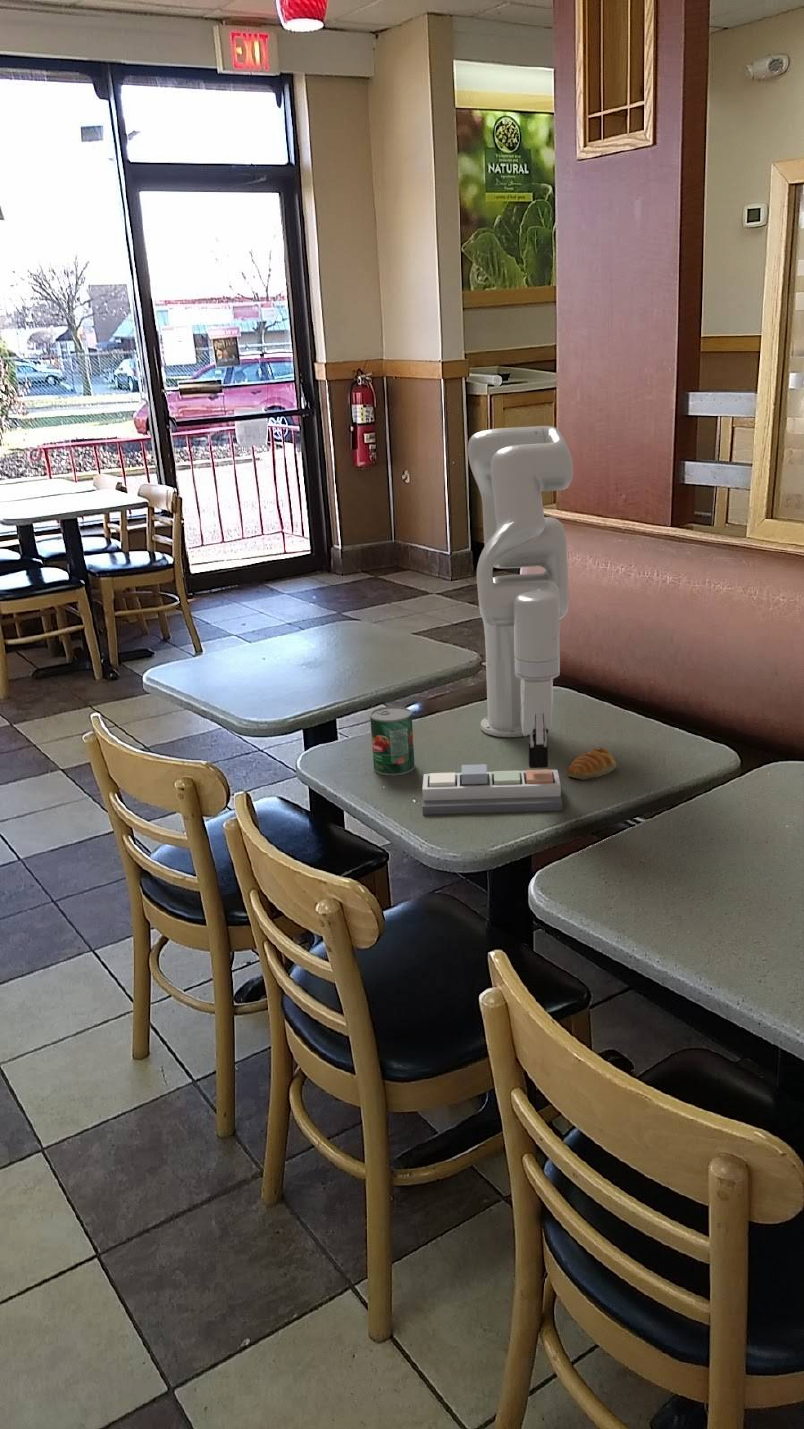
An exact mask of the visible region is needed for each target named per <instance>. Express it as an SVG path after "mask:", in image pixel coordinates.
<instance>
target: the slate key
mask: <svg viewBox="0 0 804 1429" xmlns="http://www.w3.org/2000/svg"><path fill="white" fill-rule="evenodd" d="M487 766H488V764H485V763H480V764H478V763H477V764H461V773H462V784H485V783H487V772H488V767H487Z"/></svg>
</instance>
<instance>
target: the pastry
mask: <svg viewBox="0 0 804 1429" xmlns="http://www.w3.org/2000/svg"><path fill="white" fill-rule="evenodd" d="M616 768H617V762H616V761H615V758H614V757H613V756H612V753H611V752H610V751H609V750H608V749H606V748H603V747H599V748H595V747H594V748H592V750H589V751H586V752H583V753H580V754H578V756H577V757H576V758H575V759H574V760H573V761H572V762H571V763H570V764H569V766H568V769H567V771H568V777H571V778H574V779H579V780H585V779H586V780H589V779H594V778H599V777H602V776H603V775H606V774H609V773H611V772H613V771H614V770H615V769H616ZM588 778H589V779H588Z"/></svg>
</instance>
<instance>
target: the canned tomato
mask: <svg viewBox="0 0 804 1429" xmlns="http://www.w3.org/2000/svg"><path fill="white" fill-rule="evenodd" d="M412 714H413V713H412V710H411V709H409V708H407V707H403V706H384V707H379V708H376V709H374V710H372V711H371V712H370V713H369V719H370V733H371V748H372V760H373V761H372V762H373V770H374V772H375V773H376V772H377V773H376V774H378V773H379V774H378V775H382V776H390V775H391V776H401V775H406V774H408V773H410V772H412V771H413V770H415V768H416V764H415V749H414V745H415V744H414V734H413V729H414V728H413V718H412Z"/></svg>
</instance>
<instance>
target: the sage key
mask: <svg viewBox="0 0 804 1429" xmlns="http://www.w3.org/2000/svg"><path fill="white" fill-rule="evenodd" d="M519 771H520V770H493V772H494V785H515V784H520V775H519Z"/></svg>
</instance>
